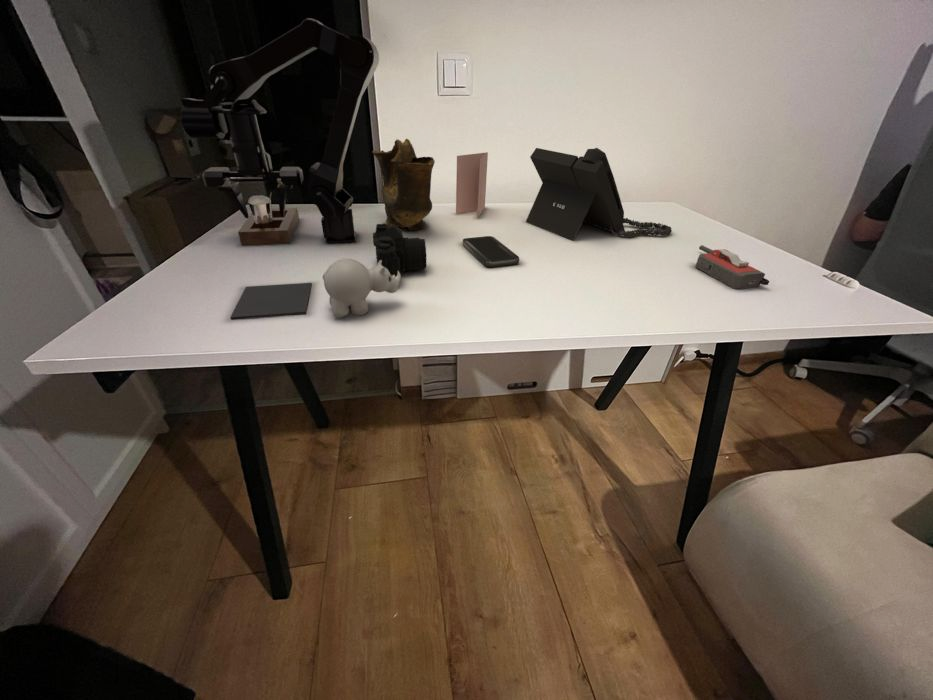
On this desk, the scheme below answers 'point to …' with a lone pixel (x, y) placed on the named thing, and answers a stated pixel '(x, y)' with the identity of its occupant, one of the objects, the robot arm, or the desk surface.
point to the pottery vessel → (405, 185)
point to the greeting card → (471, 182)
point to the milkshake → (261, 211)
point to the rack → (270, 229)
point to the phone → (490, 251)
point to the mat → (272, 301)
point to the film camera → (398, 250)
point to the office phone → (580, 195)
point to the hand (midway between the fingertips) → (265, 217)
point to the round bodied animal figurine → (356, 285)
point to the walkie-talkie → (729, 269)
